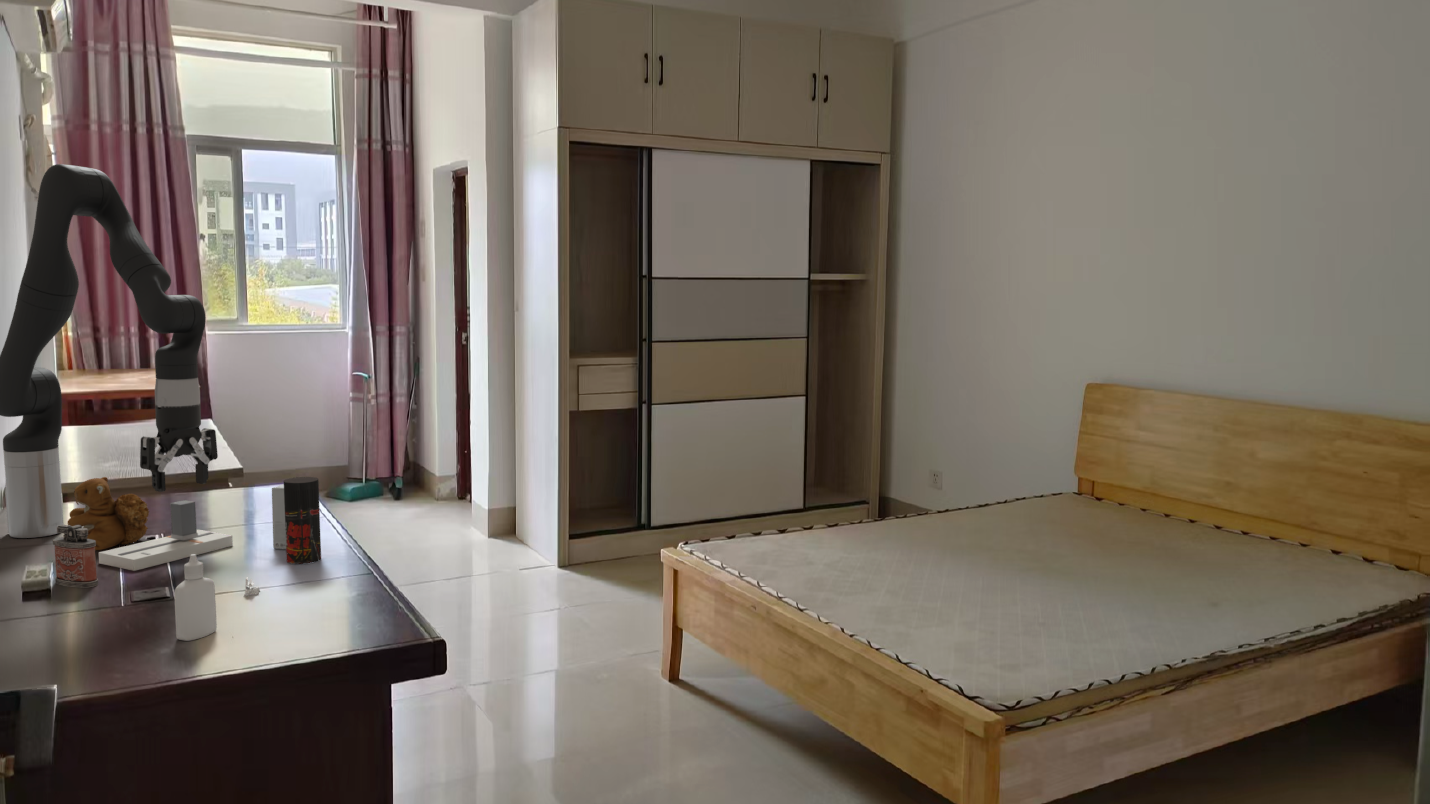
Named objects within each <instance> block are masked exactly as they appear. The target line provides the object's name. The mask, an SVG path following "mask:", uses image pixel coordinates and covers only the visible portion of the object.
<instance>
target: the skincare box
mask: <svg viewBox="0 0 1430 804" xmlns="http://www.w3.org/2000/svg"><path fill="white" fill-rule="evenodd" d="M271 505H272V506H271V507H272V513H271V514H272V545H273V546H272V547H273V549H275V550H276V549H277V550H286V531H285V505H284V483H282V484H279V485H277V486H274V487H272V488H271Z"/></svg>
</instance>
